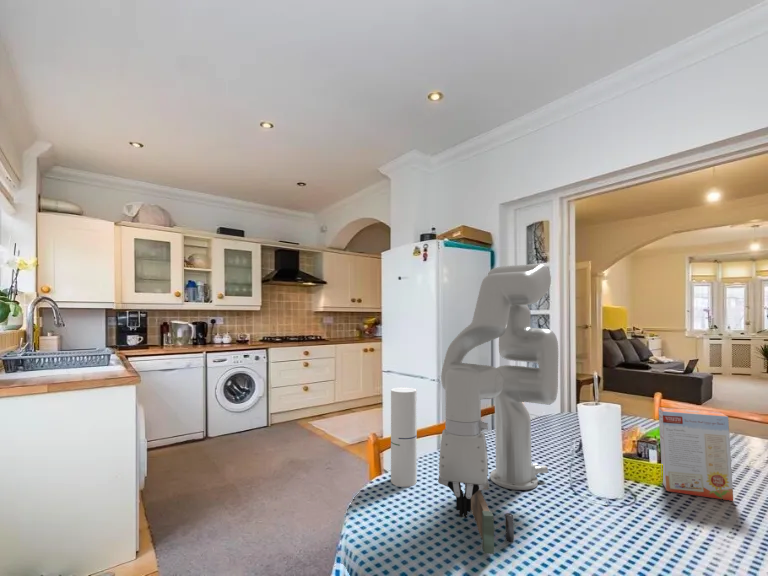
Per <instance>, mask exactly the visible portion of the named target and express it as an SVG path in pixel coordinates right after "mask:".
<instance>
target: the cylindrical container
mask: <svg viewBox="0 0 768 576" xmlns="http://www.w3.org/2000/svg"><path fill="white" fill-rule="evenodd" d="M417 391H418V390H417V389H416V388H415V387H406V386H405V387H404V386H403V387H401V386H399V387H393V388H391V389H390V483H391V484H392V485H394V486H396V487H399V488H400V487H401V488H407V487H409V488H410V487H412V486H415V485H416V484H417V478H418V477H417V474H418V472H417V471H418V469H417V465H418V463H417V461H418V459H417V458H418V457H417V454H418V453H417V449H418V447H417V444H418V442H417V441H418V440H417V438H418V437H417V436H418V435H417V432H418V431H417V423H418V422H417V417H418V416H417V413H418V411H417V410H418V409H417V407H418V406H417V400H418V399H417V394H418V393H417Z"/></svg>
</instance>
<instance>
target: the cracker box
mask: <svg viewBox="0 0 768 576" xmlns="http://www.w3.org/2000/svg"><path fill="white" fill-rule="evenodd" d="M658 420H659V421H658V422H659V427H658V428H659V439H660V440H659V441H660V442H659V443H660V445H659V446H660V458H661V459H660V460H661V463H660V464H663V483H662V485H663V487H664V489H665V490H666V491H667V492H671V493H678V494H683V495H690V496H691V495H692V496H696V497H705V498H710V499H716V500H722V499H723V500H722V501H728V500H729V501H731V502H734V490H733V489H734V488H733V485H734V484H733V473H732V471H733V470H732V468H733V467H732V456H731V439H730V425H729V423H730V422H729V420H730V419H729V416H728V415H726V414H724V413H722V412H721V411H713V410H712V411H711V410H701V409H700V410H699V409H687V408H678V407H677V408H675V407H663V406H662V407H660V406H659V407H658Z"/></svg>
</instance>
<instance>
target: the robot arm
mask: <svg viewBox="0 0 768 576" xmlns="http://www.w3.org/2000/svg"><path fill="white" fill-rule="evenodd" d="M550 272H551V271H550V269H549V268H548V267H547V266H546V265H544V264H541V263H534V264H519V265H518V264H516V265H513V264H512V265H503V266H498V267H497V266H496V267H494V268H492V269H490V270H489V271H488V274H487V276H485V277H484V278H483V279H482V281H481V284H480V287H479V291H478V296H477V299H476V300H477V301H476V303H475V308H474V312H473V318H472V320H471V323H470V324H469V325H467V326H466V327H464V329H463V330H461V331H460V333H459V334H458V335H456V337H455V338H454V339H453V340H452V341H451V343H450V344H449V346H448V347H447V350H446V353H445V356H444V359H443V363H442V368H441V373H440V374H441V375H440V379H441V380H440V381H441V385H442V388H443V389H444V390H445V428H444V429H443V430H442V433H441V437H440V438H441V439H440V448H439V459H438V461H439V462H438V473H439V474H438V475H439V476H438V480H437V482H438V484H439V485H442V486H445V487H448V488H449V490H451V492H452V493H453V494H454V496H455V497H456V498H455V509H456V511H458V515H459V518H464V519H468V513H472V511H471V497H472V496H473V495H474V494H475V493H476V492H477V491H478V490H481V491H486V490H489V489H490V483H489V478H488V474H489V475H490V476H489V477H490V480H491V482H493V484H496V485H497V486H499V487H502V488H504V489H508V490H516V491H527V490H528V491H529V490H532V489H534V488H536V487H537V486H538V485H539V479H538V477H537V476H538V475H539V474H548V473H549V472H548V471H549V468H548V466H547V465H538V463H533V462H532V430H531V429H532V427H531V426H532V422H531V421H532V420H531V415H530V413H529V411H528V409H527V408H526V405H525V404H524V403H529V404H536V405H552V404H554V403H555V402H556V400H557V397H558V394H559V393H558V392H559V391H558V390H559V342H558V338H557V335H556V333H555V332H554V331H552V330H551V329H548V328H535V327H531V309H530V308H529V305H534V304H536V303H537V302H539V300H541V298H543V297H544V296H545V295H546V294H547V293H548V291H549V289H550V287H551V284H552V276H551V273H550ZM497 339H498V352H499V355H500V357H501V358H503V360H504V359H505V360H506V361H513V362H524V363H536V364H537V365H538V367H531V366H523V365H510V364H509V365H500V366H498V367H495V366H492V365H487V364H476V363H475V364H474V363H467V362H465V363H464V362H463V361H464V358H465V357H466V356H467V355H468V353H469V352H471V351H472V350H473V349H475V348H476V347H477V348H478V347H479V346H481V345H484V344H486V343H488V342H490V341H493V340H497ZM491 399H493V400H494V401H493V402H494V431H495V435H494V436H495V438H494V440H495V443H494V445H495V469H493V470H492V471H491V472H490V473H489V463H488V462H489V461H488V460H489V459H488V447H487V439H486V436H485V433H484V432H483V431H485V430H488V428H489V424H488V422H484V421H483V420H482V417H481V416H482V413H481V412H482V407H481V406H482V405H481V403H482V402H481V401H482V400H491ZM465 483H467V490H466V491H465V490H464V492H463V490H462V485H461V484H465Z"/></svg>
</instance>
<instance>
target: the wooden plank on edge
mask: <svg viewBox="0 0 768 576" xmlns="http://www.w3.org/2000/svg"><path fill="white" fill-rule="evenodd" d="M484 497H485V496H484V495H483V493H482V490H478V491H477V492H476V493H475V494H474V495H473V496H472V497H471V513H472V516H473V518H474V522H475V523H476V527H477V529H478V533H479V535H480V538H481V542H482V543H481V544H482V551H483V554H484V555H495V531H494V529H495V528H494V527H495V525H494V524H495V521H494V514H493V511H492V510H490V509H489V507H488V504H487V502H486V499H485V498H484Z"/></svg>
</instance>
